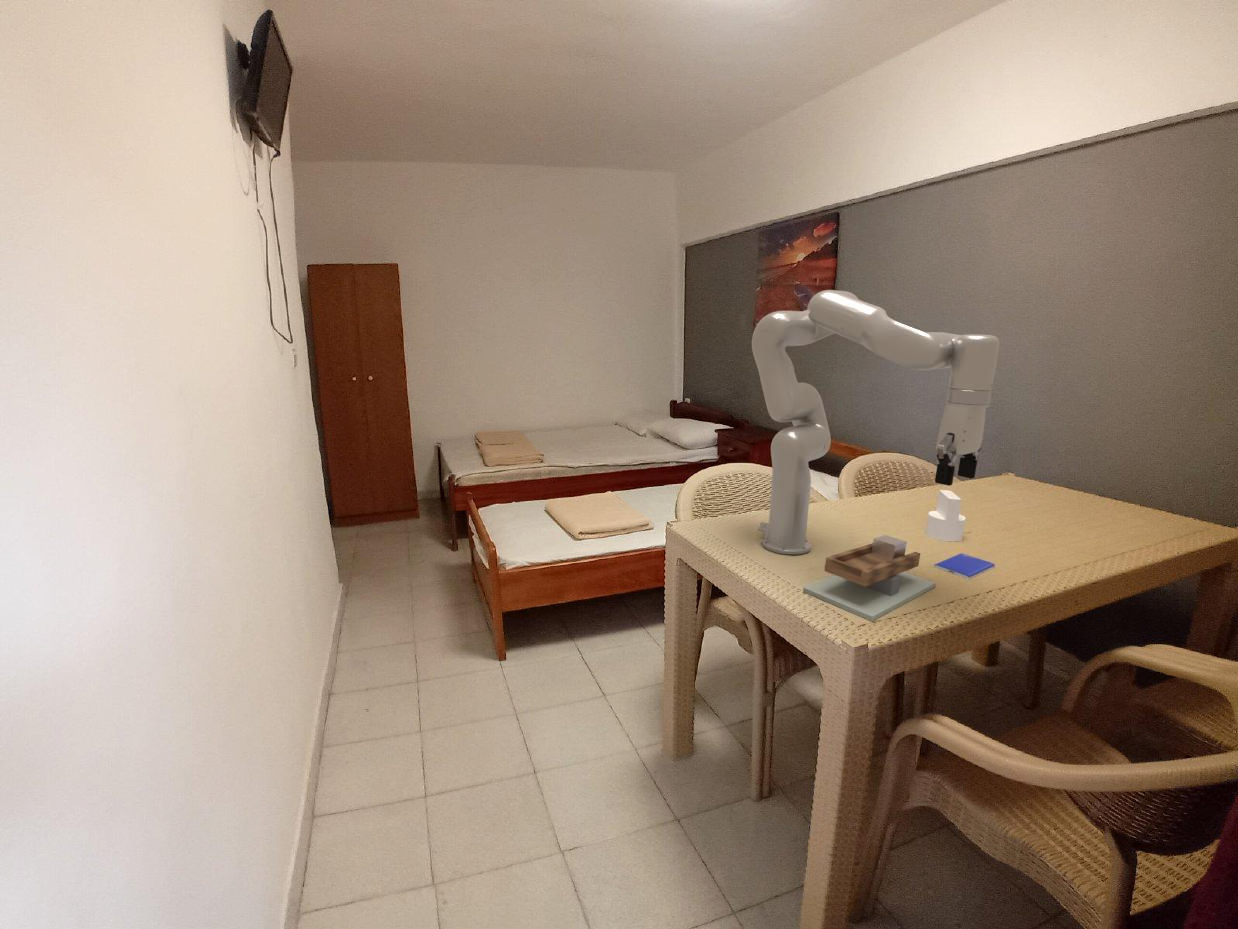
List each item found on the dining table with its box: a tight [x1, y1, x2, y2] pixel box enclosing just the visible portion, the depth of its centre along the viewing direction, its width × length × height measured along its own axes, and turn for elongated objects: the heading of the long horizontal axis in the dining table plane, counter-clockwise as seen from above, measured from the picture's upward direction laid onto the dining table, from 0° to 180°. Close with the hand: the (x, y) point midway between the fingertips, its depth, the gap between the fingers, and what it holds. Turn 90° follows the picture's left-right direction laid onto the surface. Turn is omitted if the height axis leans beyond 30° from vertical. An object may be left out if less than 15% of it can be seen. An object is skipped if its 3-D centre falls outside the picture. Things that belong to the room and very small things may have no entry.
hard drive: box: [933, 553, 996, 580], centre depth 142 cm, size 2×8×12 cm
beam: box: [824, 542, 921, 586], centre depth 128 cm, size 22×9×3 cm, turn 127°
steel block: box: [871, 534, 908, 561], centre depth 132 cm, size 5×5×4 cm
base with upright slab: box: [925, 489, 966, 543], centre depth 162 cm, size 9×9×12 cm
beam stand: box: [802, 571, 936, 622], centre depth 129 cm, size 26×16×5 cm, turn 127°
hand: (954, 480), depth 122 cm, fingers open, 9 cm apart
